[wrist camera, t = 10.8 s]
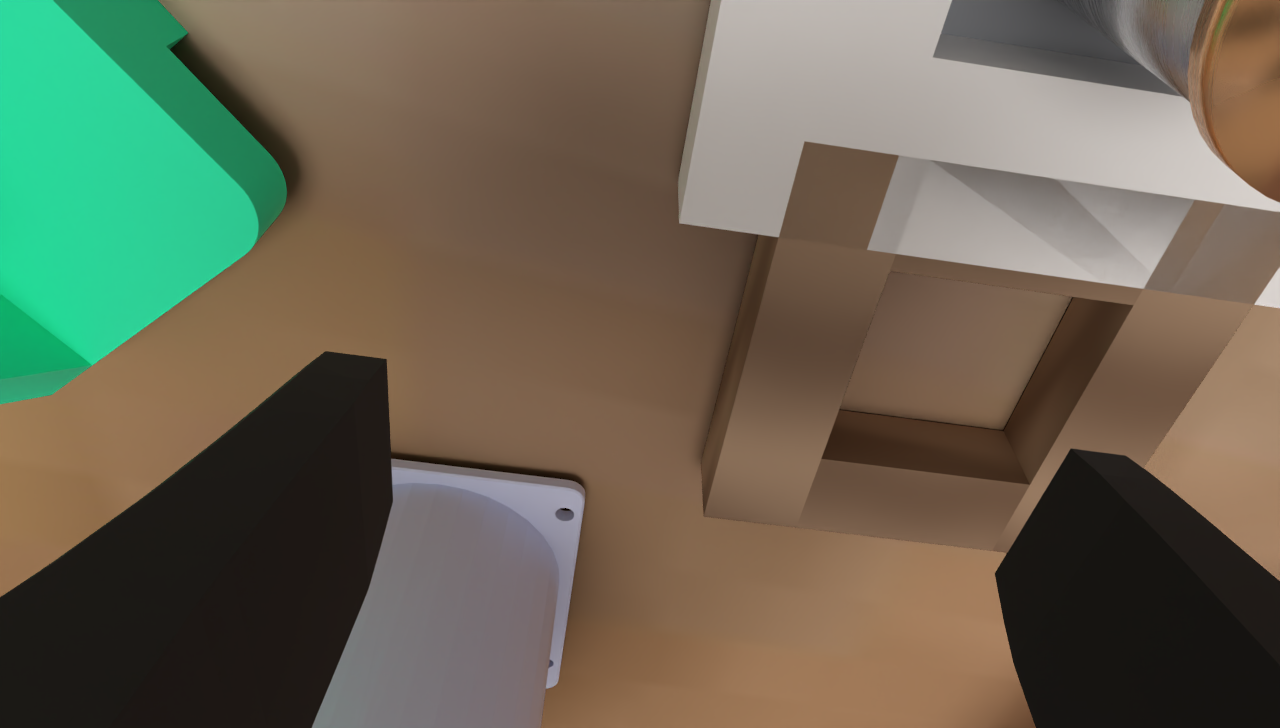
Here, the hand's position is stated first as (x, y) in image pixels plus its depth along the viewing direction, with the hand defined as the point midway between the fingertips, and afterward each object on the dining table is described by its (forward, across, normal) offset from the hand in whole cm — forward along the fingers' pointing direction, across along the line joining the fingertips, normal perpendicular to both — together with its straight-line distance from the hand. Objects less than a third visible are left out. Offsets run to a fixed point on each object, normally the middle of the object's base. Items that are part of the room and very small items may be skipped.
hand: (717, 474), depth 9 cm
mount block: (+10, -7, +4) cm, 13 cm away
